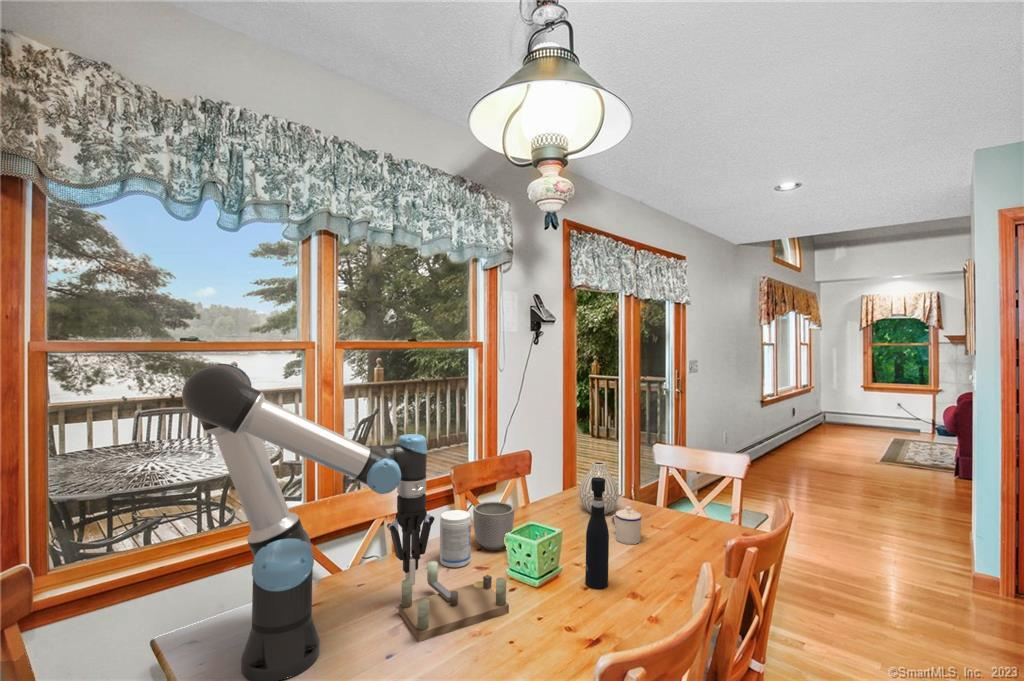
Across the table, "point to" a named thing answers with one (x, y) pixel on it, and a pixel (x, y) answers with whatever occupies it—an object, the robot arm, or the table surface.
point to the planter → (492, 523)
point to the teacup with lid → (627, 526)
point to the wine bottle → (597, 540)
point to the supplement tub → (455, 538)
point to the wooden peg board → (452, 607)
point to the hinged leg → (432, 580)
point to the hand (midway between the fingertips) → (410, 583)
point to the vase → (609, 494)
